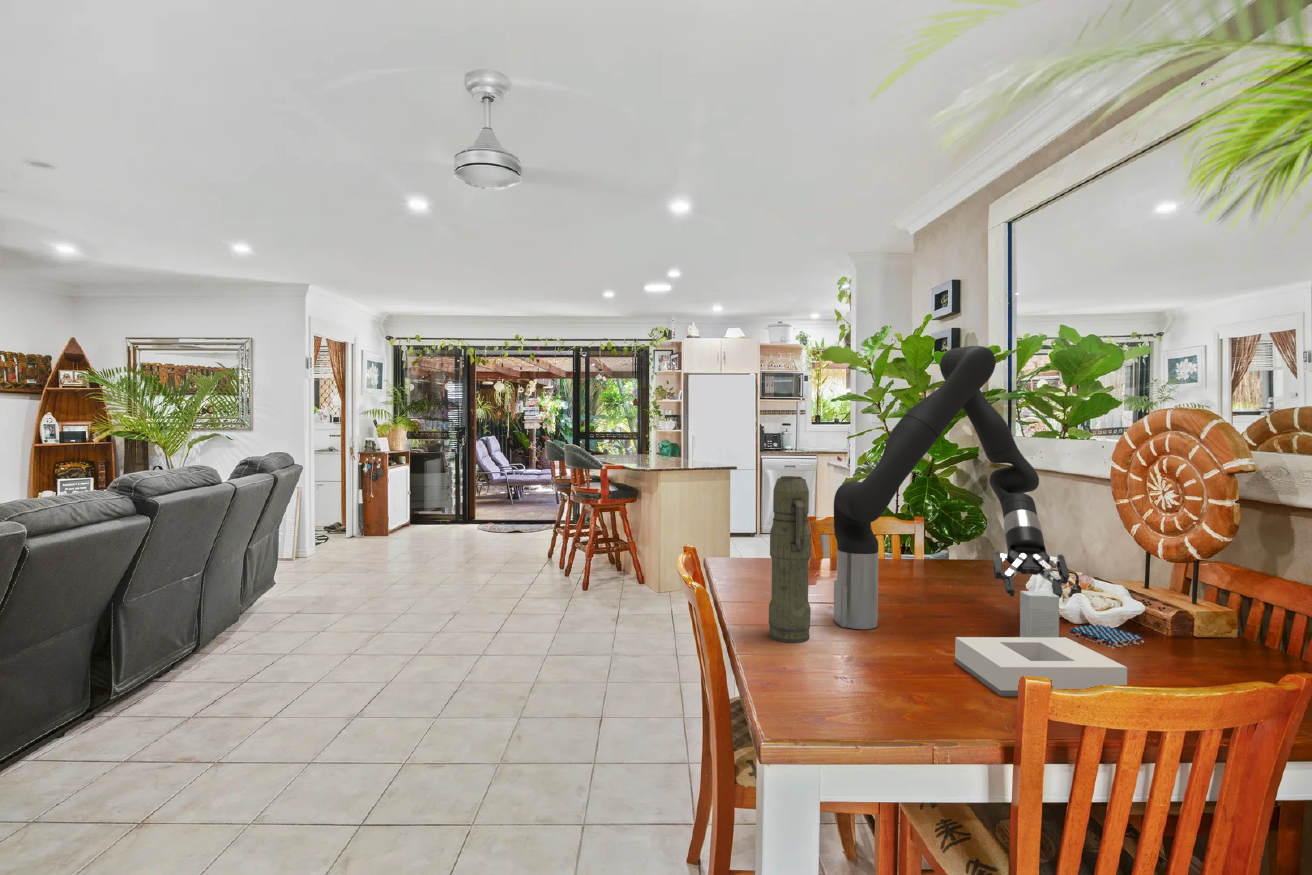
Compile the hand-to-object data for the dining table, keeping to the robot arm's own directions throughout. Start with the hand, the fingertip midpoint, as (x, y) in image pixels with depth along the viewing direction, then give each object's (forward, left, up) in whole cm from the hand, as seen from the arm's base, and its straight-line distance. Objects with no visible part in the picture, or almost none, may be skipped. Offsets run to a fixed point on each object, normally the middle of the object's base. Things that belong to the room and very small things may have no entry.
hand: (1034, 596), depth 138 cm
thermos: (-51, +5, -11) cm, 53 cm away
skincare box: (-1, -4, -11) cm, 11 cm away
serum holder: (-11, -19, -10) cm, 24 cm away
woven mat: (+19, +4, -11) cm, 22 cm away
